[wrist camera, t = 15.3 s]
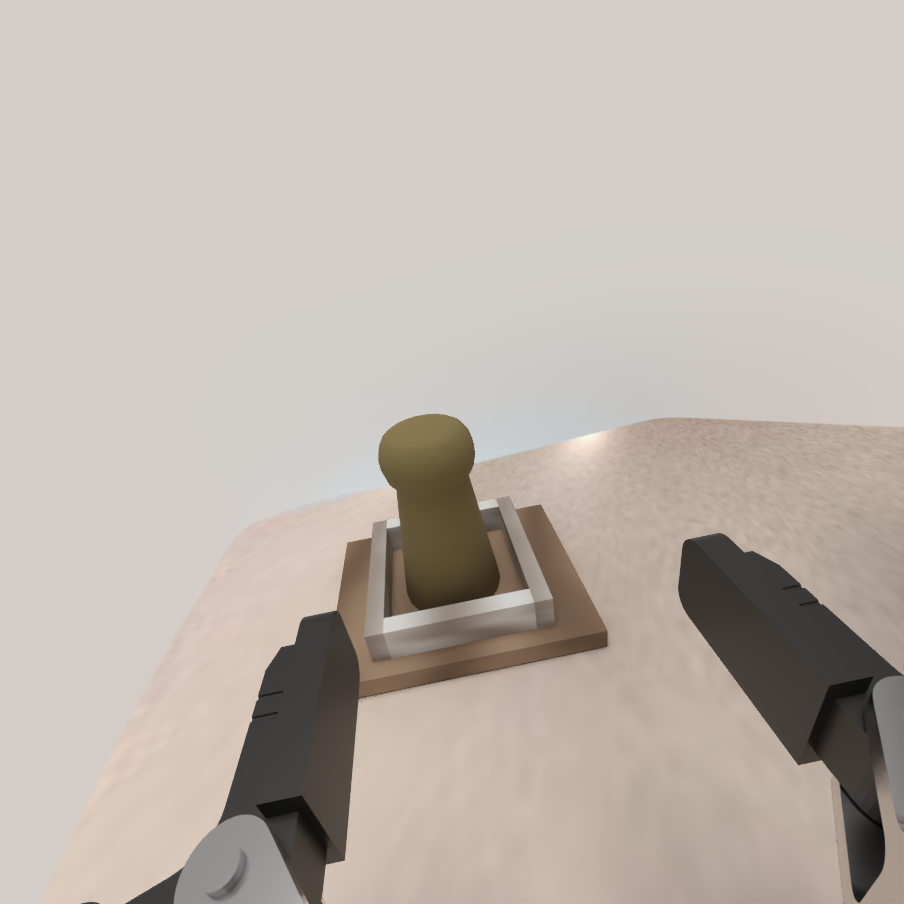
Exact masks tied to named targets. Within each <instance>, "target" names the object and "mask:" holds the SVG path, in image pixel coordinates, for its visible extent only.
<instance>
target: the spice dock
mask: <svg viewBox="0 0 904 904" xmlns="http://www.w3.org/2000/svg"><path fill="white" fill-rule="evenodd" d="M477 503H478V506H479V509H480V512H481V515H482V519H483V522H484V525H485V528H486V531H487V534H488V537H489V540H490V544H491V547H492V550H493V553H494V556H495V559H496V562H497V566H498V569H499V573H500V582H499V587H498V589H497V591H496V592H495V594H494V596H490V597H485V598H481V599H476V600H471V601H466V602H461V603H456V604H451V605H446V606H441V607H436V608H431V609H426V610H421V611H420V610H418V609H417V608H416V607H415V606H414V605H413V604H412V603H411V601H410V599H409V597H408V594H407V588H406V578H405V568H404V558H403V548H402V538H401V529H400V519H399V518H396V519H391V520H386V521H380V522H375V523H373V531H372V538H369V539H364V540H359V541H354V542H349V543H347V549H346V555H345V561H344V568H343V574H342V581H341V587H340V593H339V600H338V606H337V611H338V612H339V613H340V615H341V617H342V620H343V622H344V625H345V627H346V629H347V632H348V634H349V637H350V639H351V642H352V644H353V646H354V649H355V651H356V654H357V657H358V662H359V671H360V685H359V697H358V698H361V697H366V696H371V695H375V694H380V693H385V692H390V691H395V690H399V689H404V688H409V687H414V686H419V685H423V684H428V683H433V682H438V681H443V680H447V679H452V678H457V677H462V676H467V675H471V674H476V673H481V672H486V671H491V670H495V669H500V668H505V667H510V666H515V665H519V664H524V663H529V662H534V661H539V660H543V659H548V658H553V657H558V656H563V655H567V654H572V653H577V652H582V651H587V650H591V649H596V648H601V647H606V646H607V629H606V627H605V625H604V623H603V621H602V619H601V618H600V616H599V614H598V612H597V610H596V608H595V606H594V604H593V602H592V601H591V599H590V597H589V595H588V593H587V591H586V589H585V587H584V585H583V584H582V582H581V580H580V578H579V576H578V574H577V572H576V570H575V568H574V567H573V565H572V563H571V561H570V559H569V557H568V555H567V553H566V551H565V549H564V548H563V546H562V544H561V542H560V540H559V538H558V536H557V534H556V532H555V531H554V529H553V527H552V525H551V523H550V521H549V519H548V517H547V515H546V514H545V512H544V510H543V508H542V506H541V505H536V506H531V507H526V508H520V509H515V508H514V506H513V504H512V501H511V499H510V496H508V497H502V498H497V499H492V500H487V501H482V502H477Z"/></svg>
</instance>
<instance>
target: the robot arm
mask: <svg viewBox="0 0 904 904" xmlns="http://www.w3.org/2000/svg"><path fill="white" fill-rule="evenodd" d="M678 591H679V597H680V600H681V603H682V605H683V608H684V610H685V612H686V613H687V615H688V616H689V618H690V619H691V620H692V622H693V623H694V624H695V626H696V627H697V629H698V630H699V631H700V633H701V634H702V635H703V637H704V638H705V639H706V641H707V642H708V643H709V645H710V646H711V647H712V649H713V650H714V652H715V653H716V654H717V656H718V657H719V658H720V660H721V661H722V662H723V664H724V665H725V666H726V668H727V669H728V671H729V672H730V673H731V675H732V676H733V677H734V679H735V680H736V681H737V683H738V684H739V685H740V687H741V688H742V689H743V691H744V692H745V694H746V695H747V696H748V698H749V699H750V700H751V702H752V703H753V704H754V706H755V707H756V708H757V710H758V711H759V713H760V714H761V715H762V717H763V718H764V719H765V721H766V722H767V723H768V725H769V726H770V727H771V729H772V730H773V731H774V733H775V734H776V736H777V737H778V738H779V740H780V741H781V742H782V744H783V745H784V746H785V748H786V749H787V750H788V752H789V753H790V755H791V756H792V757H793V759H794V760H795V761H796V763H797V764H798V765H801V764H806V763H810V762H815V761H820V760H822V761H823V762H824V764H825V765H826V766H827V768H828V769H829V770H830V771H831V773H832V774H833V776H832V780H831V789H832V799H833V809H834V818H835V828H836V837H837V847H838V856H839V866H840V875H841V885H842V895H843V904H904V675H902V674H901V673H900V672H898V671H897V670H896V669H895V668H894V667H892V666H891V665H890V664H889V663H888V662H887V661H886V660H885V659H883V658H882V657H881V656H880V655H879V654H878V653H877V652H876V651H875V650H873V649H872V648H871V647H870V646H869V645H868V644H867V643H866V642H865V641H863V640H862V639H861V638H860V637H859V636H858V635H857V634H856V633H855V632H853V631H852V630H851V629H850V628H849V627H848V626H847V625H846V624H844V623H843V622H842V621H841V620H840V619H839V618H838V617H837V616H836V615H834V614H833V613H832V612H831V611H830V610H829V609H828V608H827V607H826V606H824V605H823V604H822V605H821V604H820V603H819V602H818V599H817V598H816V597H814V596H813V595H812V594H811V593H810V592H809V591H808V590H807V589H805V588H802V587H801V584H800V583H799V582H798V581H797V580H795V579H794V578H793V577H792V576H791V575H790V574H789V573H788V572H787V571H785V570H784V569H783V568H782V567H781V566H780V565H778V564H776V563H774V562H772V561H771V560H769V559H767V558H765V557H763V556H761V555H759V554H757V553H755V552H753V551H750V552H745V553H744V552H743V551H742V550H741V549H740V548H739V547H738V546H737V545H736V544H735V543H734V542H733V541H732V540H731V539H729V538H728V537H727V536H726V535H724V534H722V533H717V534H712V535H707V536H702V537H698V538H693V539H688V540H686V541H685V542H684V543H683V548H682V557H681V566H680V576H679V585H678ZM359 685H360V671H359V662H358V657H357V654H356V651H355V649H354V646H353V644H352V642H351V639H350V637H349V634H348V632H347V629H346V627H345V625H344V622H343V620H342V617H341V615H340V613H339V612H338V611H332V612H328V613H323V614H318V615H313V616H308V617H304V618H303V619H302V620H301V622H300V626H299V630H298V634H297V638H296V642H295V645H290V646H285V647H281V649H280V650H279V652H278V653H277V654H276V656H275V657H274V659H273V660H272V662H271V663H270V665H269V666H268V668H267V669H266V671H265V674H264V678H263V681H262V685H261V688H260V691H259V695H258V697H259V700H258V701H256V705H255V708H254V711H253V715H252V722H250V725H249V728H248V732H247V735H246V738H245V742H244V745H243V749H242V752H241V755H240V759H239V762H238V765H237V769H236V772H235V775H234V779H233V782H232V786H231V789H230V792H229V796H228V799H227V802H226V806H225V809H224V811H223V814H222V817H221V819H220V821H219V823H218V825H217V827H215V828H214V829H213V830H212V831H210V832H209V833H208V834H207V835H206V836H205V837H204V838H203V839H202V841H201V842H200V843H199V844H198V845H197V847H196V848H195V849H194V851H193V852H192V854H191V855H190V857H189V859H188V860H187V862H186V864H185V866H184V867H183V868H182V869H181V870H179V871H178V872H177V873H175V874H174V875H172V876H171V877H169V878H168V879H166V880H164V881H162V882H161V883H159V884H157V885H156V886H154V887H152V888H151V889H149V890H147V891H146V892H144V893H142V894H141V895H139V896H137V897H136V898H134V899H132V900H131V901H129V902H127V903H126V904H326V903H325V901H324V899H323V897H322V892H323V883H324V874H325V866H326V864H330V863H335V862H340V861H344V860H345V851H346V839H347V827H348V816H349V804H350V792H351V780H352V768H353V756H354V744H355V733H356V721H357V709H358V697H359ZM82 904H99V903H96V902H87V903H82Z"/></svg>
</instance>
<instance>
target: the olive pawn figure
mask: <svg viewBox="0 0 904 904" xmlns="http://www.w3.org/2000/svg"><path fill="white" fill-rule="evenodd" d="M474 458H475V450H474V443H473V440H472V437H471V434H470V432H469V430H468V428H466V426H465V425H464V424H463V423H462V422H461V421H459V420H458V419H457V418H454V417H451V416H447V415H440V414H426V415H421V416H415V417H412V418H409V419H406V420H404V421H401V422H399V423H397V424H396V425H394V426H393V427H391V428H390V429H389V430H388V431H387V432H386V433H385V434H384V435H383V437H382V440H381V442H380V445H379V459H378V460H379V464H380V468H381V471H382V472H383V474H384V476H385V478H386V479H387V481H388V483H389V484H390V486H392V487H393V488H395V489H396V490H397V499H398V509H399V519H400V529H401V538H402V548H403V558H404V568H405V578H406V588H407V594H408V597H409V599H410V601H411V603H412V604H413V605H414V606H415V607H416V608H417V609H418V610H420V611H421V610H426V609H431V608H436V607H441V606H446V605H451V604H456V603H461V602H466V601H471V600H476V599H481V598H485V597H490V596H494V594H495V592H496V591H497V589H498V587H499V582H500V573H499V569H498V566H497V562H496V559H495V556H494V553H493V550H492V547H491V544H490V540H489V537H488V534H487V531H486V528H485V525H484V522H483V519H482V515H481V512H480V509H479V506H478V503H477V500H476V497H475V493H474V490H473V487H472V484H471V481H470V478H469V474H470V472H471V470H472V467H473V464H474Z"/></svg>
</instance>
